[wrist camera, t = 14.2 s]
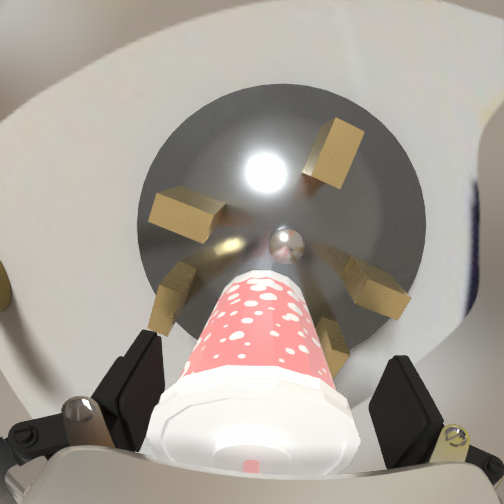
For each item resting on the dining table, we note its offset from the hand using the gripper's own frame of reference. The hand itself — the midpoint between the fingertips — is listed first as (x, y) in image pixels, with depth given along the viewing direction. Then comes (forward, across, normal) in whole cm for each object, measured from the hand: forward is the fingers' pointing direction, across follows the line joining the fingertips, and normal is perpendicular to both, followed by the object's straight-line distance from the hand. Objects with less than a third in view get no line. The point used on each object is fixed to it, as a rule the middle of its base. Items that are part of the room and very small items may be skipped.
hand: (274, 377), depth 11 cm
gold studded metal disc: (+6, 0, -4) cm, 8 cm away
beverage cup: (+5, +1, 0) cm, 5 cm away
